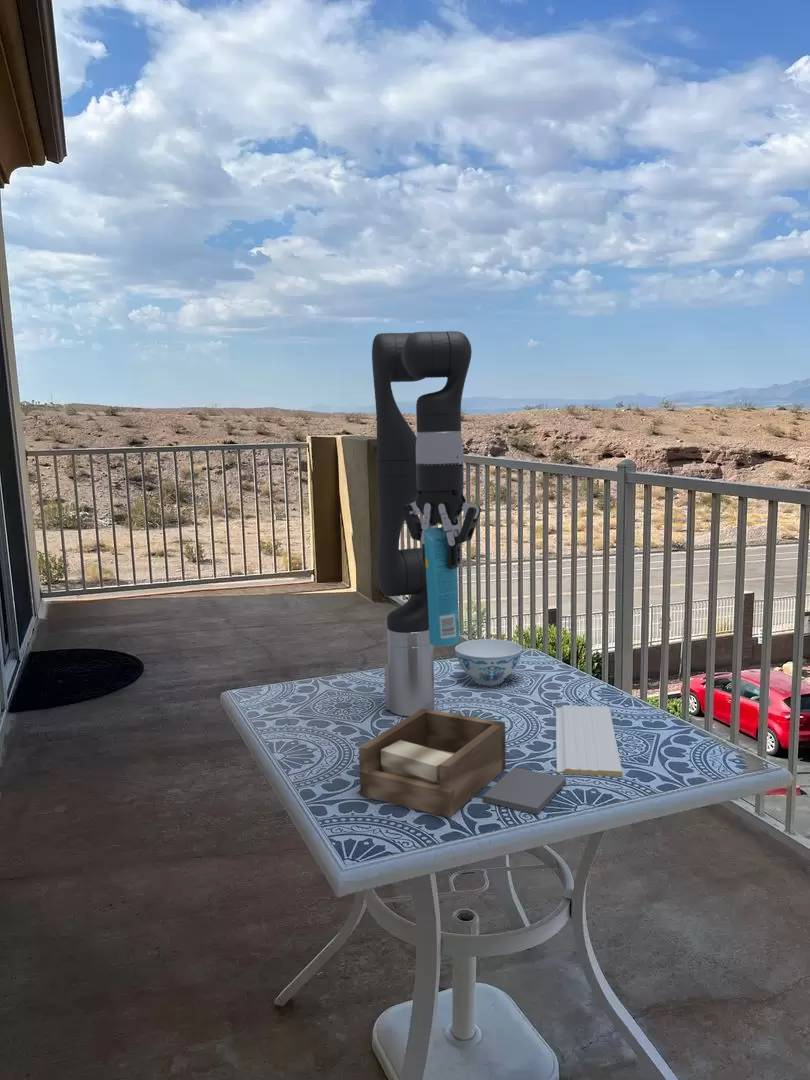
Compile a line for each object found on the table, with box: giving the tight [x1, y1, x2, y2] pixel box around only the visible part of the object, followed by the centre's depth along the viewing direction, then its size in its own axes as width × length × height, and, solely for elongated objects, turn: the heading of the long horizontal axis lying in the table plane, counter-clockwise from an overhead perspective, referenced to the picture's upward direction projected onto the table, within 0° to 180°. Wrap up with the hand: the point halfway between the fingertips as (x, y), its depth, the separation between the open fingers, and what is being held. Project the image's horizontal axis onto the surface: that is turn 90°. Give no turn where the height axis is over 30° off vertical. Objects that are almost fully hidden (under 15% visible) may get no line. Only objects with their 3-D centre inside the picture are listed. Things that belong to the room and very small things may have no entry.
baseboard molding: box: [549, 698, 623, 778], centre depth 151 cm, size 31×3×12 cm
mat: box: [482, 766, 567, 816], centre depth 130 cm, size 9×12×1 cm
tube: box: [424, 526, 460, 647], centre depth 133 cm, size 7×5×19 cm, turn 140°
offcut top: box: [381, 740, 453, 782], centre depth 129 cm, size 11×5×2 cm, turn 51°
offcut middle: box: [382, 765, 440, 785], centre depth 130 cm, size 11×5×2 cm, turn 57°
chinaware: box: [454, 638, 523, 686], centre depth 186 cm, size 15×15×8 cm
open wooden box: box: [358, 708, 507, 819], centre depth 134 cm, size 16×20×8 cm
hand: (441, 566), depth 133 cm, fingers closed on tube, 3 cm apart
